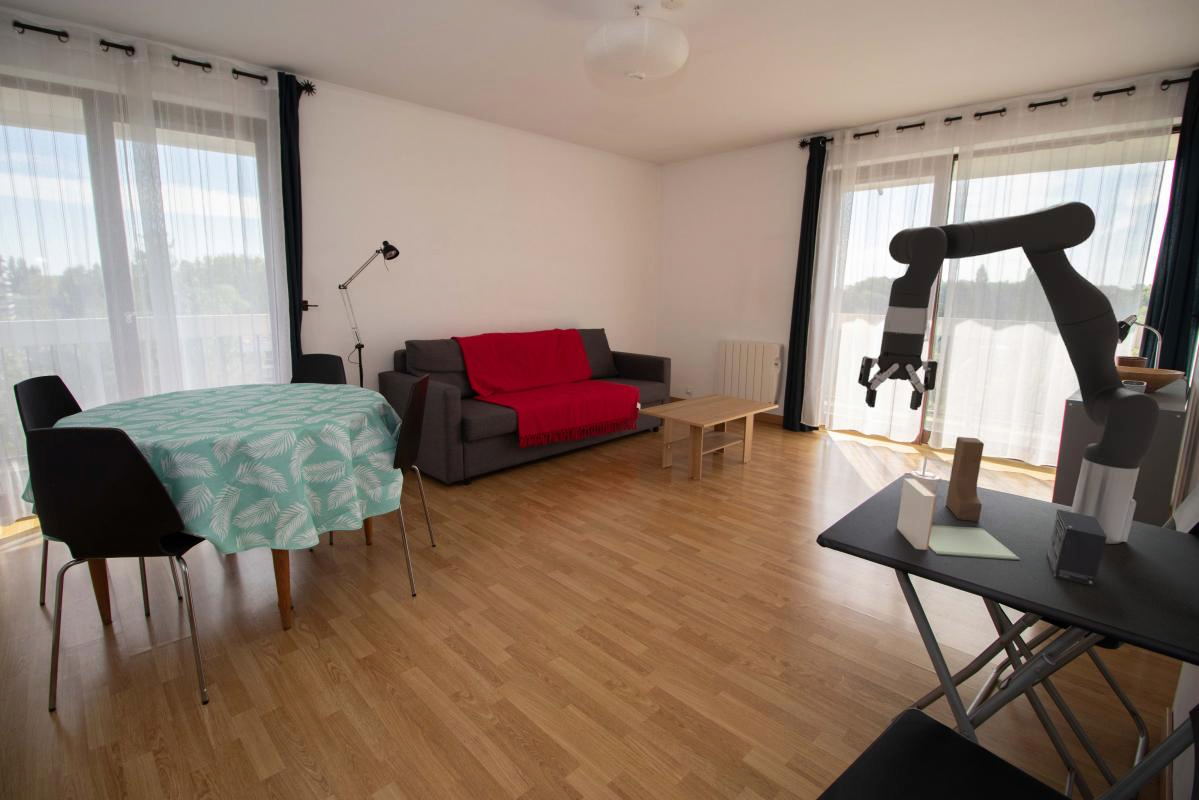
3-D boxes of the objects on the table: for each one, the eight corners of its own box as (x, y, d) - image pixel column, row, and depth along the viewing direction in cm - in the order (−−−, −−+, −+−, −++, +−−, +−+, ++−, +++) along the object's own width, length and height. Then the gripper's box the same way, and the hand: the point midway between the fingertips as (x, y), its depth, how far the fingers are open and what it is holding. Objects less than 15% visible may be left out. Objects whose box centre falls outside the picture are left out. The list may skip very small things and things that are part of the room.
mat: (982, 529, 127) (982, 528, 127) (1019, 560, 113) (1020, 558, 113) (907, 524, 128) (908, 523, 128) (936, 554, 115) (936, 553, 115)
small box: (1097, 588, 103) (1109, 536, 101) (1052, 578, 107) (1063, 527, 104) (1086, 564, 112) (1097, 515, 110) (1045, 555, 116) (1055, 508, 113)
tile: (907, 528, 127) (915, 478, 124) (927, 549, 117) (936, 496, 114) (896, 528, 127) (904, 478, 124) (915, 548, 117) (924, 495, 115)
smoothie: (910, 504, 140) (918, 451, 137) (938, 512, 136) (947, 457, 132) (901, 511, 136) (909, 457, 132) (930, 520, 131) (939, 463, 128)
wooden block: (979, 522, 131) (992, 448, 127) (957, 519, 132) (970, 447, 128) (965, 507, 139) (977, 438, 135) (945, 504, 140) (956, 436, 136)
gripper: (933, 330, 115) (920, 406, 119) (861, 326, 117) (850, 401, 121) (950, 333, 108) (936, 414, 112) (873, 329, 110) (861, 409, 113)
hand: (891, 407), depth 116 cm, fingers open, 8 cm apart
